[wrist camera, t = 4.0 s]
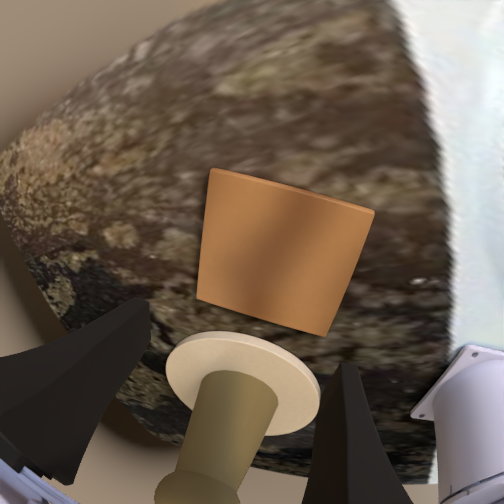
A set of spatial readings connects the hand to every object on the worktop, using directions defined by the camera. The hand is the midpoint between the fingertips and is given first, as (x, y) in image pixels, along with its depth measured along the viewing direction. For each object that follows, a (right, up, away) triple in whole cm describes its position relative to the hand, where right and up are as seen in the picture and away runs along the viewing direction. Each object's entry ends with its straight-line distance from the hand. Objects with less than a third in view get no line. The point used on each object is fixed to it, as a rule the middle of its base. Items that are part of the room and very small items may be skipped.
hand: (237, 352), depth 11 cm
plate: (0, -7, +12) cm, 14 cm away
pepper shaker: (0, -7, +11) cm, 13 cm away
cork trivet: (+2, +3, +6) cm, 7 cm away
